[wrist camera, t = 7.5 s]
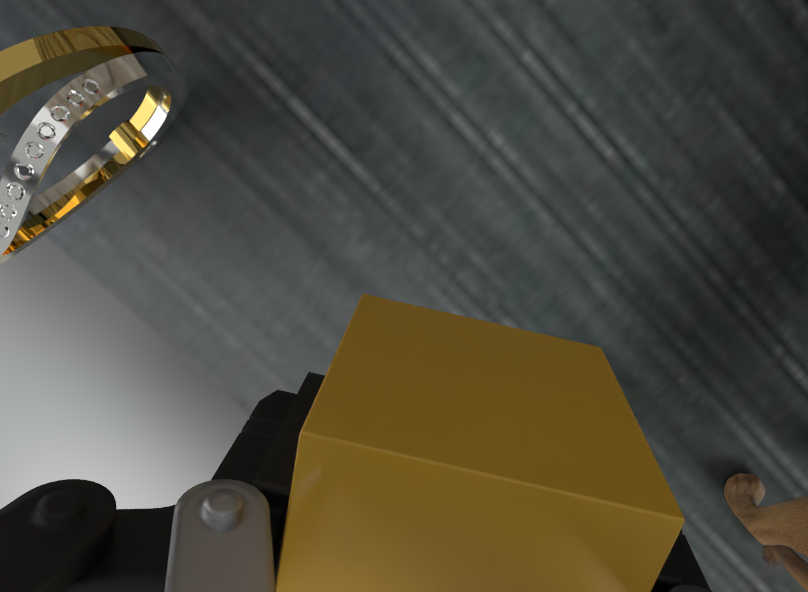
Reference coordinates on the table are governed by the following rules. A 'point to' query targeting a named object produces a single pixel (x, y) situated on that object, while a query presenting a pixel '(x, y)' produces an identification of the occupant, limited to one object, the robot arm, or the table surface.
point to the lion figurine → (772, 524)
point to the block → (471, 466)
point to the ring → (79, 120)
